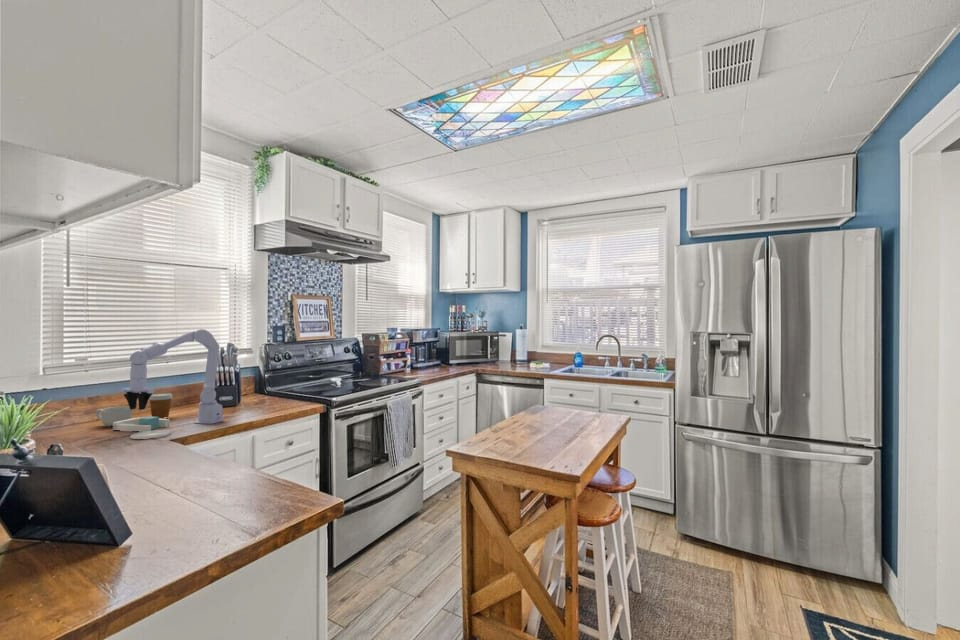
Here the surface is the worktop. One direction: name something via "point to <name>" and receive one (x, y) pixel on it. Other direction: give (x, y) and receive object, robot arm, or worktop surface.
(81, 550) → the worktop surface
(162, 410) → the disposable coffee cup
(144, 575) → the worktop surface
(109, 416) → the teacup
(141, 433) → the dish
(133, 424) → the frame
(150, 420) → the cube
